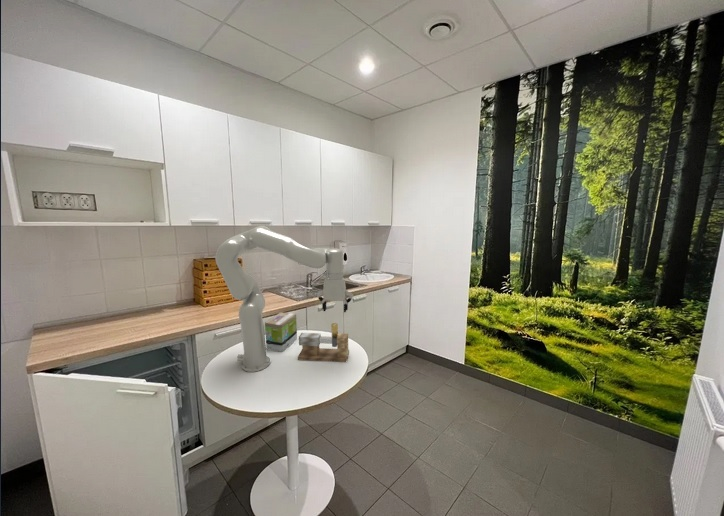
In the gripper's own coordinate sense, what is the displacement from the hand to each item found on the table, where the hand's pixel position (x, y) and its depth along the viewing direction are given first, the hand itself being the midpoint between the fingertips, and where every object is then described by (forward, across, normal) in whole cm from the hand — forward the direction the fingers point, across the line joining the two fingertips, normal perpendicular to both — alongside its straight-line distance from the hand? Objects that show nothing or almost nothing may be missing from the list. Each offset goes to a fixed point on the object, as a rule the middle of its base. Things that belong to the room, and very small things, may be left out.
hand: (335, 310), depth 139 cm
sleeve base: (+24, -6, 0) cm, 24 cm away
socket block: (+22, +4, 0) cm, 22 cm away
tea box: (+24, -30, +10) cm, 40 cm away
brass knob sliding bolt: (+17, -3, 0) cm, 18 cm away
